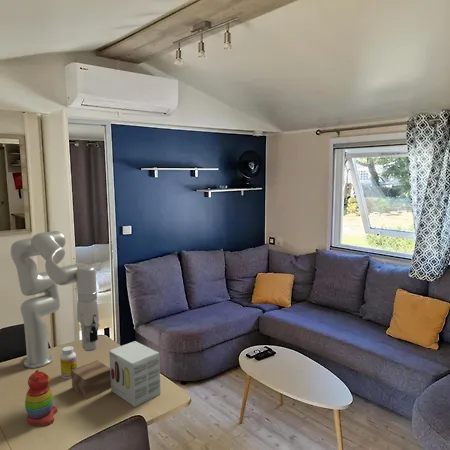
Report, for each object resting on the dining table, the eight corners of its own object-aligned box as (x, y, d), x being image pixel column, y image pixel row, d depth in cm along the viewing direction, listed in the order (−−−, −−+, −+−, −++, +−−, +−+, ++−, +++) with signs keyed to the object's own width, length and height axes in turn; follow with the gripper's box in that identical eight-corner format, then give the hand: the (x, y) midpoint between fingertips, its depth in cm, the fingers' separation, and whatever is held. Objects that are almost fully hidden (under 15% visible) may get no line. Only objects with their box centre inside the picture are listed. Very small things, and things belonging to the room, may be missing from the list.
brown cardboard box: (72, 387, 173) (71, 370, 171) (98, 377, 181) (97, 360, 180) (86, 398, 164) (85, 379, 163) (112, 387, 173) (111, 369, 172)
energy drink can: (97, 344, 174) (95, 310, 172) (98, 350, 169) (96, 315, 167) (82, 347, 172) (80, 312, 170) (83, 353, 166) (80, 317, 165)
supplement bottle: (71, 380, 179) (70, 352, 177) (58, 378, 180) (56, 351, 179) (80, 372, 186) (78, 345, 184) (67, 371, 187) (65, 344, 185)
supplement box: (110, 391, 169) (107, 350, 167) (136, 379, 179) (135, 340, 176) (134, 407, 158) (132, 363, 155) (161, 393, 167) (160, 351, 165)
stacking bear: (53, 424, 148) (49, 378, 145) (22, 428, 145) (18, 381, 143) (58, 408, 158) (55, 364, 156) (30, 411, 156) (26, 367, 154)
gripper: (68, 294, 171) (71, 335, 173) (89, 303, 159) (91, 347, 161) (85, 290, 176) (88, 330, 178) (106, 298, 164) (108, 341, 167)
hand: (89, 338), depth 170 cm, fingers closed on energy drink can, 6 cm apart
